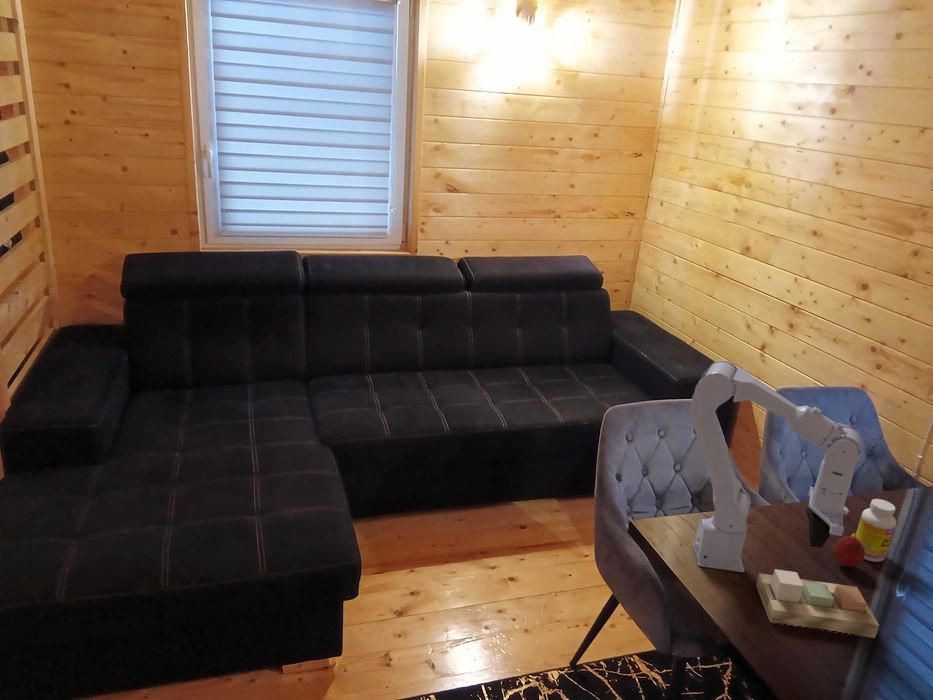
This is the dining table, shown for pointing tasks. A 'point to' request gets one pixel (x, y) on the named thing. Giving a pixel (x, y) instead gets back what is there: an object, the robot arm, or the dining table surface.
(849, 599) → the salmon pink cube
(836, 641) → the dining table surface
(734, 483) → the robot arm
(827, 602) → the sage key
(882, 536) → the supplement bottle
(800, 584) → the cream key
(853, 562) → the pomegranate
